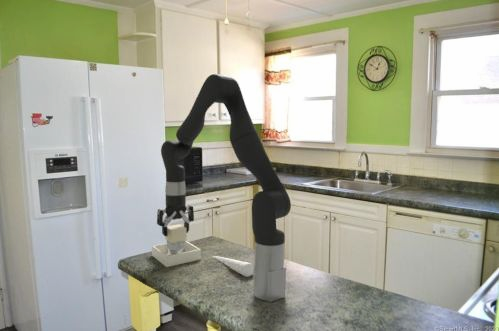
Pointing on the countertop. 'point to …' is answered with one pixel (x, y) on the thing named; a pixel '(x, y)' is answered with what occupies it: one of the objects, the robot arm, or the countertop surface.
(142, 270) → the countertop surface
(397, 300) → the countertop surface
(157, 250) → the box
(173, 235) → the carton
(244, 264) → the unicorn horn
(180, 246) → the tin can
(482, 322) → the countertop surface
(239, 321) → the countertop surface
